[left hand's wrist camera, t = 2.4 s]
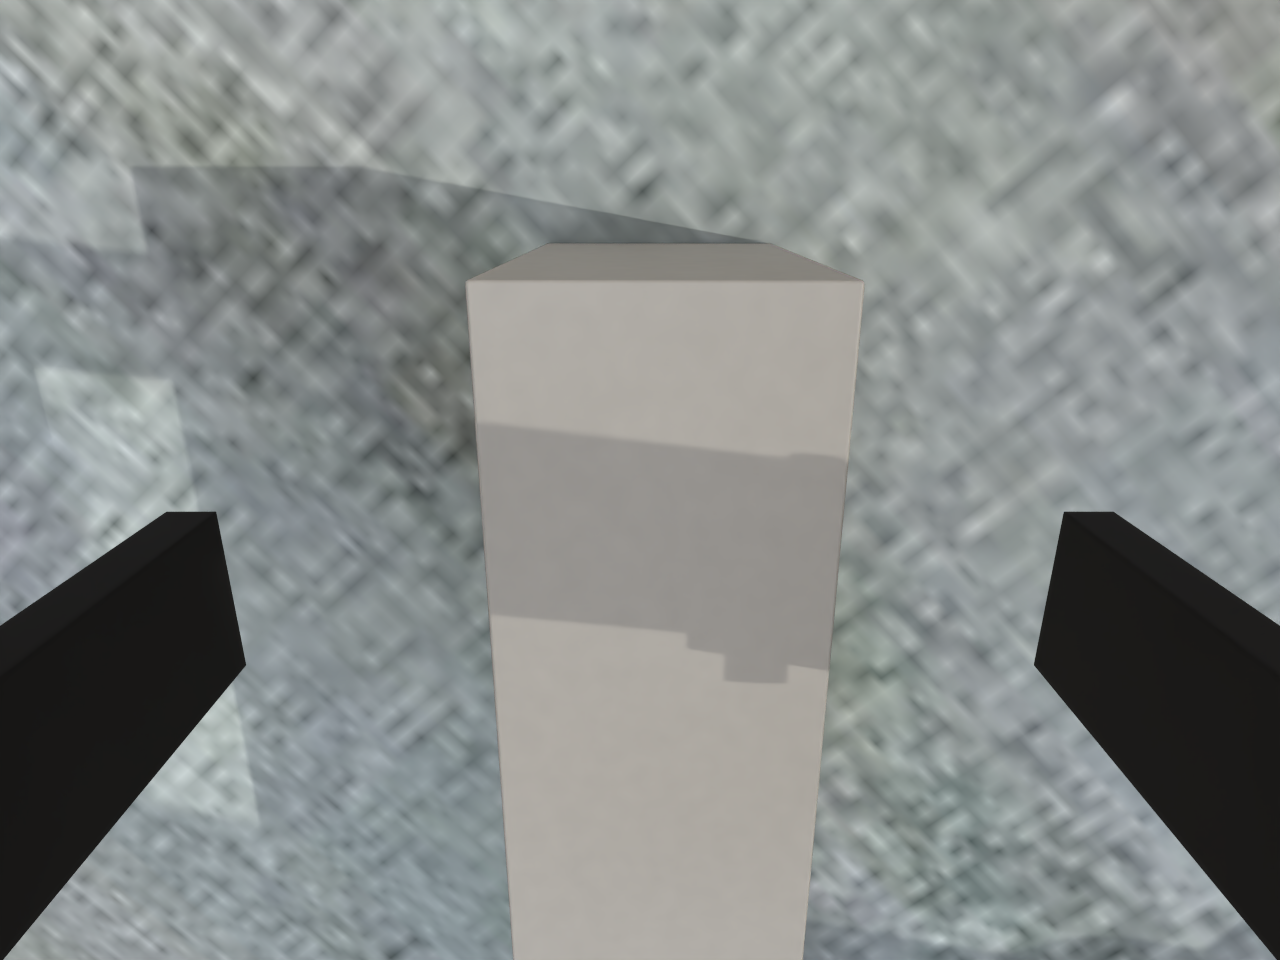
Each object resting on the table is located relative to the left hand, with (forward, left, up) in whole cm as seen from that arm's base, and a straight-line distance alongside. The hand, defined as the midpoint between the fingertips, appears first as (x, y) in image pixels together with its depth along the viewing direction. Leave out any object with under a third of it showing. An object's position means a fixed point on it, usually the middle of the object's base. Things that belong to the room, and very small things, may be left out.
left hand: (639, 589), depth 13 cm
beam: (-3, +29, -7) cm, 30 cm away
